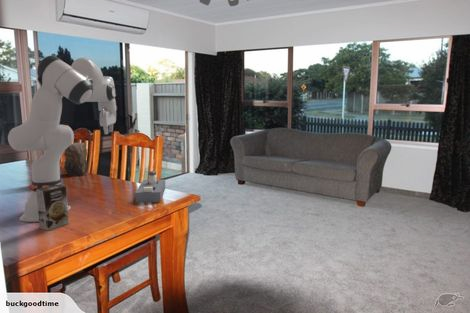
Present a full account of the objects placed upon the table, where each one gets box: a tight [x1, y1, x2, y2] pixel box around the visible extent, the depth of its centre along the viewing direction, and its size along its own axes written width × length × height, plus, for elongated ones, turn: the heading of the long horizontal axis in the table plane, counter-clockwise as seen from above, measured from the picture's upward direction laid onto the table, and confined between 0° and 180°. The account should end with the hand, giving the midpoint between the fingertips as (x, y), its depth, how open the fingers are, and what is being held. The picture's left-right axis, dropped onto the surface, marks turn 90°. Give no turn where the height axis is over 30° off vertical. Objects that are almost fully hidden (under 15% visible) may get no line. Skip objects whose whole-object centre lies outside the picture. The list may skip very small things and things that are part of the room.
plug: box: [148, 170, 157, 184], centre depth 191 cm, size 4×4×11 cm
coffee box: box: [36, 184, 70, 231], centre depth 143 cm, size 9×6×16 cm
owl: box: [63, 142, 89, 177], centre depth 230 cm, size 13×13×20 cm
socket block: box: [134, 176, 166, 204], centre depth 186 cm, size 25×12×7 cm, turn 5°
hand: (108, 133), depth 192 cm, fingers open, 8 cm apart
